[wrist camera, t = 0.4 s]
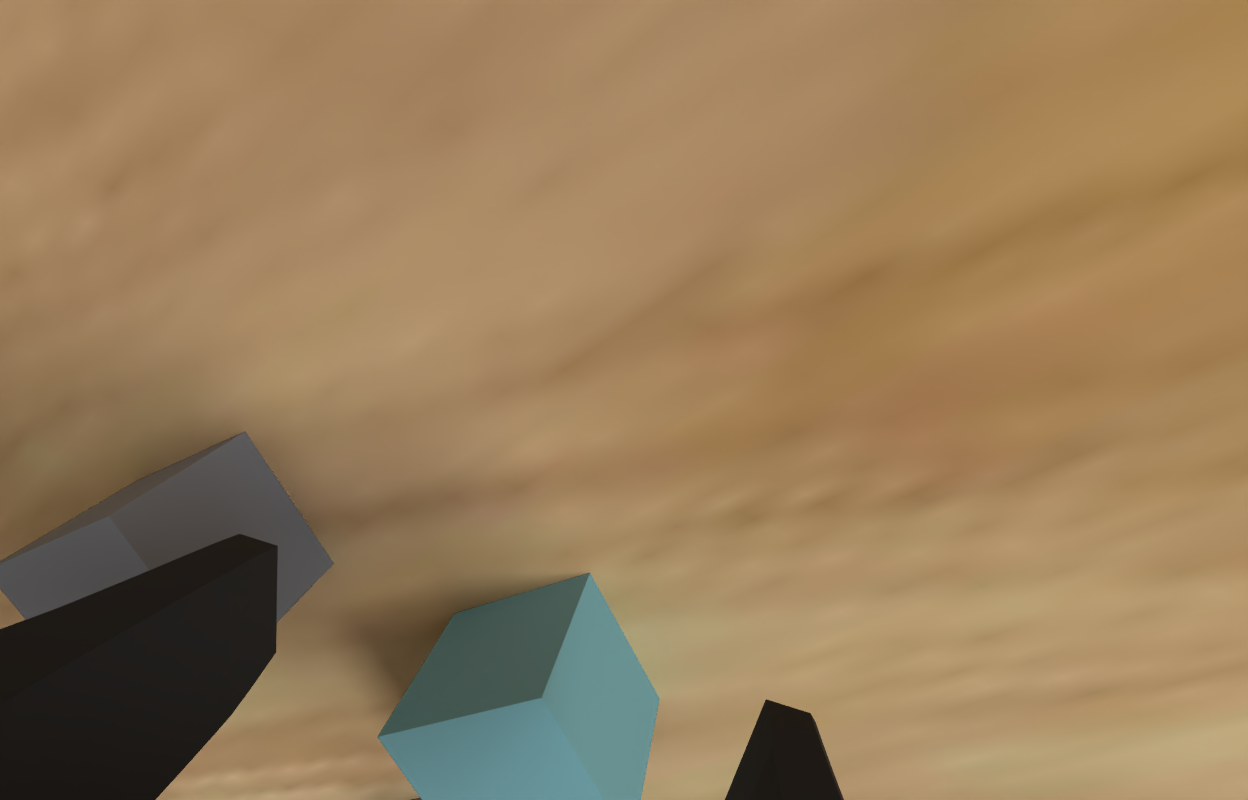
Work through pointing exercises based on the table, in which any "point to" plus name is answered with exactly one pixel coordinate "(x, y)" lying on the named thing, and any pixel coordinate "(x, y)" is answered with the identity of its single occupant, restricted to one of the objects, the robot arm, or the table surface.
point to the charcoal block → (168, 531)
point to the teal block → (528, 704)
